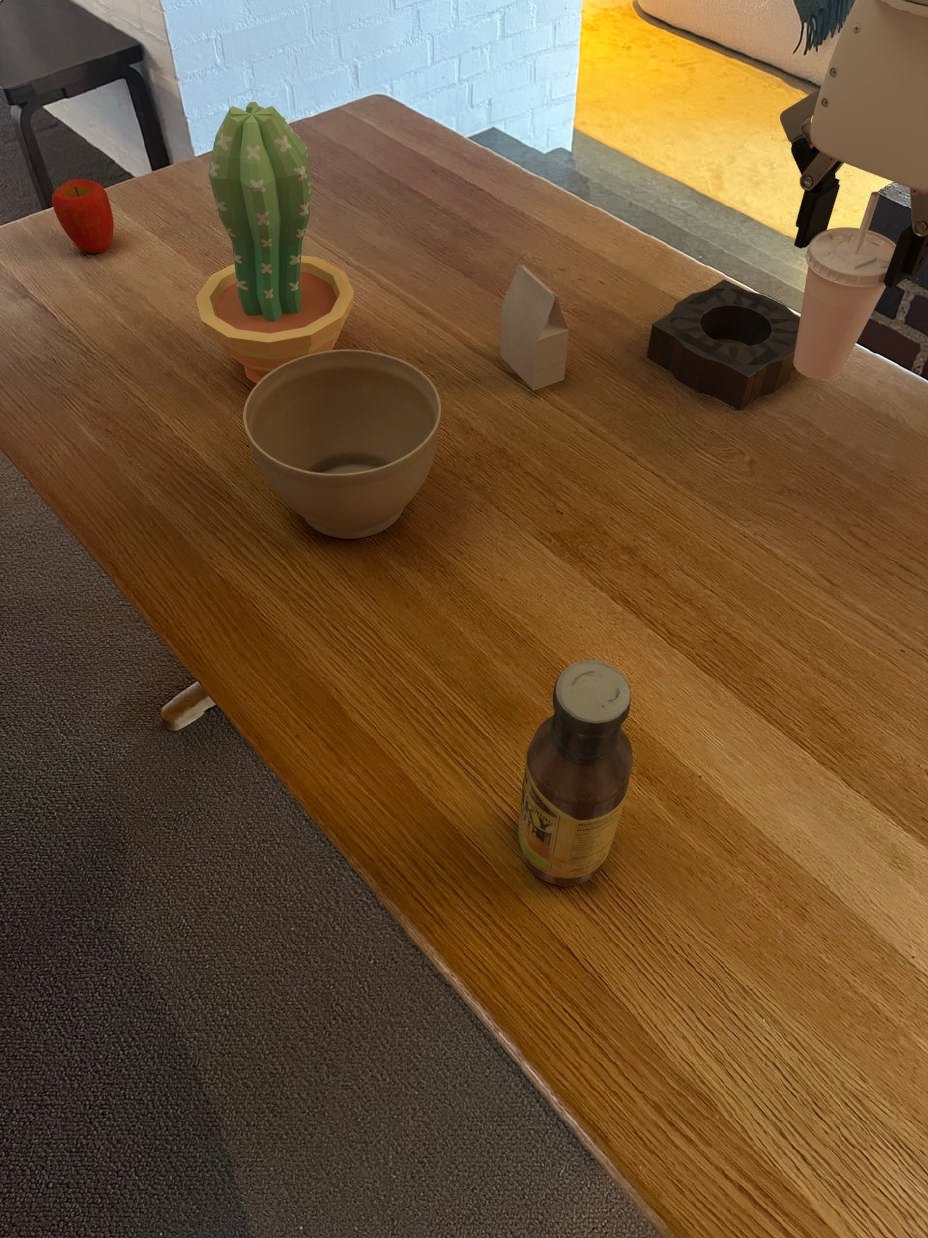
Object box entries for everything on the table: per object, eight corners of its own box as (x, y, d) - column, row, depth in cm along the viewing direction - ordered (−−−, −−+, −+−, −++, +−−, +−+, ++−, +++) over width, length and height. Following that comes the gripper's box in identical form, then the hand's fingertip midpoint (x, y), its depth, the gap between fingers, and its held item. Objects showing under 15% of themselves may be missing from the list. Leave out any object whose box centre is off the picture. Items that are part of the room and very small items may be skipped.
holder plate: (715, 306, 106) (723, 273, 103) (818, 359, 100) (829, 326, 97) (637, 356, 100) (642, 323, 97) (741, 416, 94) (750, 383, 91)
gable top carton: (533, 390, 97) (539, 303, 89) (499, 355, 100) (502, 268, 93) (564, 379, 98) (572, 292, 90) (529, 345, 102) (534, 258, 94)
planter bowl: (382, 595, 80) (372, 501, 71) (228, 527, 85) (201, 431, 76) (475, 479, 89) (476, 383, 80) (330, 424, 94) (317, 328, 85)
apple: (64, 240, 115) (42, 178, 109) (115, 228, 117) (97, 167, 111) (74, 266, 111) (52, 203, 106) (127, 254, 113) (108, 192, 107)
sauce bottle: (512, 810, 67) (526, 637, 52) (600, 805, 68) (640, 630, 52) (522, 898, 63) (539, 738, 48) (615, 892, 64) (664, 731, 48)
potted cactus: (388, 343, 102) (370, 96, 82) (308, 428, 93) (267, 174, 74) (267, 305, 106) (223, 62, 87) (181, 383, 98) (110, 132, 78)
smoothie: (772, 382, 73) (823, 206, 62) (779, 334, 77) (828, 161, 66) (858, 396, 72) (926, 220, 61) (861, 347, 76) (925, 172, 65)
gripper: (1134, -13, 51) (994, 286, 65) (849, -84, 59) (779, 197, 73) (1072, 27, 48) (938, 333, 62) (780, -54, 56) (720, 234, 70)
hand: (853, 257), depth 68 cm, fingers closed on smoothie, 6 cm apart
